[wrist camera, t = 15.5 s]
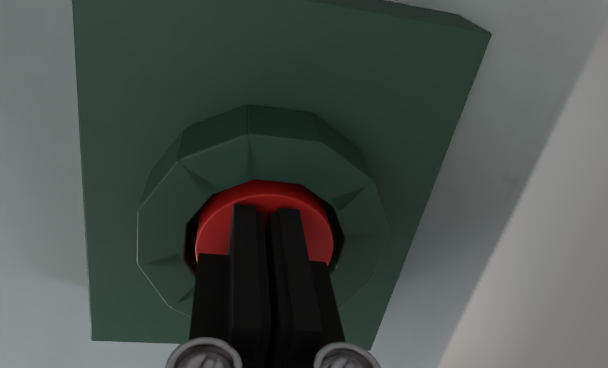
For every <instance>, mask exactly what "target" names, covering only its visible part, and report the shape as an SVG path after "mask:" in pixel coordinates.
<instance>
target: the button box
mask: <svg viewBox="0 0 608 368" xmlns="http://www.w3.org/2000/svg"><path fill="white" fill-rule="evenodd" d="M72 4H73V22H74V40H75V58H76V76H77V94H78V112H79V130H80V148H81V166H82V184H83V202H84V220H85V238H86V256H87V274H88V292H89V310H90V329H91V340H92V341H118V342H146V343H174V344H182V343H184V342H186V341H188V340H189V334H190V325H191V315H192V306H193V297H194V288H195V279H196V270H197V260H196V255H195V244H196V236H197V228H198V221H199V213H200V208H201V207H202V206H203V205H204V204H205V203H206V201H207V200H208V199H209V198H210V197H211V196H212V195H213V194H215V193H218V192H220V191H223V190H226V189H229V188H231V187H234V186H237V185H240V184H243V183H245V182H248V181H251V180H254V179H257V180H267V181H276V182H286V183H295V184H301V185H302V186H304V187H305V188H307V189H308V190H310V191H311V192H313V193H314V194H316V195H317V196H318V197H320V198H321V199H323V202H324V206H325V209H326V213H327V217H328V221H329V224H330V228H331V232H332V236H333V252H332V257H331V260H330V262H329V264H328V270H329V274H330V278H331V282H332V287H333V291H334V295H335V299H336V303H337V307H338V312H339V316H340V320H341V324H342V328H343V332H344V337H345V341H346V342H349V343H352V344H356V345H358V346H360V347H362V348H364V349H365V350H371V347H372V344H373V342H374V339H375V337H376V334H377V331H378V329H379V326H380V324H381V321H382V318H383V316H384V313H385V311H386V308H387V305H388V303H389V300H390V298H391V295H392V292H393V290H394V287H395V285H396V282H397V279H398V277H399V274H400V272H401V269H402V266H403V264H404V261H405V259H406V256H407V253H408V251H409V248H410V246H411V243H412V240H413V238H414V235H415V233H416V230H417V227H418V225H419V222H420V220H421V217H422V214H423V212H424V209H425V207H426V204H427V201H428V199H429V196H430V194H431V191H432V188H433V186H434V183H435V181H436V178H437V175H438V173H439V170H440V168H441V165H442V162H443V160H444V157H445V155H446V152H447V149H448V147H449V144H450V142H451V139H452V136H453V134H454V131H455V129H456V126H457V123H458V121H459V118H460V116H461V113H462V110H463V108H464V105H465V103H466V100H467V97H468V95H469V92H470V90H471V87H472V84H473V82H474V79H475V77H476V74H477V71H478V69H479V66H480V64H481V61H482V58H483V56H484V53H485V51H486V48H487V45H488V43H489V40H490V37H491V33H490V32H488V31H486V30H485V29H483V28H481V27H479V26H477V25H476V24H474V23H472V22H470V21H468V20H467V19H465V18H463V17H461V16H460V15H457V14H452V13H447V12H441V11H436V10H431V9H425V8H420V7H415V6H410V5H404V4H399V3H394V2H388V1H383V0H72Z"/></svg>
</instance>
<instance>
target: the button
mask: <svg viewBox="0 0 608 368" xmlns="http://www.w3.org/2000/svg"><path fill="white" fill-rule="evenodd" d="M233 204H244V205H255V208H256V211H259V212H263V217H264V229H265V231H266V225H267V220H268V215H269V213H276V211H277V209H278V208H288V209H299V210H300V214H301V219H302V225H303V230H304V235H305V240H306V245H307V250H308V255H309V261H323V262H326V264H327V266H328V264H329V262H330V260H331V257H332V252H333V236H332V232H331V228H330V224H329V221H328V217H327V213H326V209H325V206H324V202H323V199H321V198H320V197H318V196H317V195H316V194H314V193H313V192H311V191H310V190H308V189H307V188H305V187H304V186H302V185H301V184H295V183H286V182H276V181H267V180H257V179H254V180H251V181H248V182H245V183H243V184H240V185H237V186H234V187H231V188H229V189H226V190H223V191H220V192H218V193H215V194H213V195H212V196H211V197H210V198H209V199H208V200H207V201H206V203H205V204H204V205H203V206H202V207H201V208H200V213H199V221H198V228H197V236H196V244H195V255H196V260H197V261H198V253H208V254H222V255H226V254H227V247H228V239H229V232H230V225H231V218H232V210H233Z"/></svg>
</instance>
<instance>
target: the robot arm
mask: <svg viewBox="0 0 608 368" xmlns="http://www.w3.org/2000/svg"><path fill="white" fill-rule="evenodd" d="M165 368H381V367H380V365H379V363H378V362H377V360H376V359H375V357H373V356H372V355H371V354H370V353H369V352H368V351H367V350H365V349H364V348H362V347H360V346H358V345H356V344H352V343H349V342H346V341H345V337H344V332H343V328H342V324H341V320H340V316H339V312H338V307H337V303H336V299H335V295H334V291H333V287H332V282H331V278H330V274H329V270H328V266H327V264H326V262H323V261H309V255H308V250H307V245H306V240H305V235H304V230H303V225H302V219H301V214H300V210H299V209H288V208H278V209H277V211H276V213H269V215H268V220H267V225H266V231H265V229H264V217H263V212H259V211H256V208H255V205H244V204H233V210H232V218H231V225H230V232H229V239H228V247H227V254H226V255H222V254H208V253H198V261H197V270H196V279H195V288H194V297H193V306H192V315H191V325H190V334H189V340H188V341H186V342H184V343H182V344H180V345H179V346H178V347H177V348H176V349H175V350H174V351H173V352H172V353H171V355H170V357H169V358H168V360H167V363H166V366H165Z"/></svg>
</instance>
